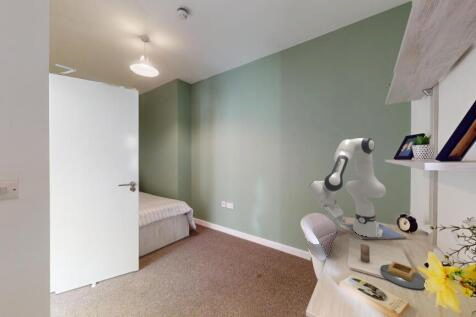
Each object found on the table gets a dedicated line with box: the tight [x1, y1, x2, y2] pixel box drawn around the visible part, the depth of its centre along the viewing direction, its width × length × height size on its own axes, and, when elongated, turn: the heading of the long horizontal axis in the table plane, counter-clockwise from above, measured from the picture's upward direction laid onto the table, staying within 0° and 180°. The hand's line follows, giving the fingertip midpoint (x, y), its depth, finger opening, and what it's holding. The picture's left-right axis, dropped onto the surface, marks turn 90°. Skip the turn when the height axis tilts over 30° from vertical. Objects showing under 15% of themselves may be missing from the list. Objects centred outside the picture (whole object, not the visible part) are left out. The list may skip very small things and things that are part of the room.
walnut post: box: [360, 243, 371, 263], centre depth 100 cm, size 4×4×8 cm
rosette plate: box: [379, 260, 426, 291], centre depth 85 cm, size 16×16×4 cm
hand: (343, 224), depth 109 cm, fingers open, 8 cm apart
